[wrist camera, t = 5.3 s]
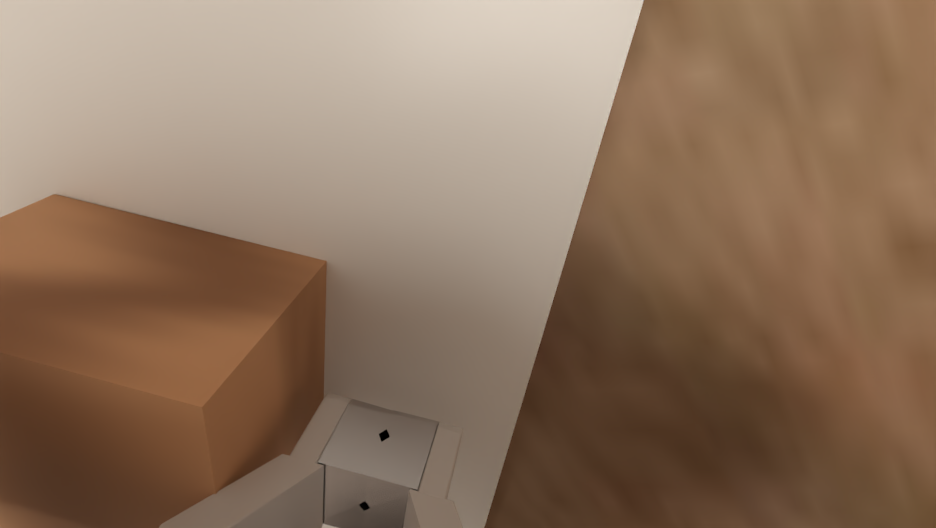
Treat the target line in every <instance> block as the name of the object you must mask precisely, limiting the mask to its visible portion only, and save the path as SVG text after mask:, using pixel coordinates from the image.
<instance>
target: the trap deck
mask: <svg viewBox="0 0 936 528" xmlns="http://www.w3.org/2000/svg"><path fill="white" fill-rule="evenodd" d="M643 1H644V0H0V217H2V216H5V215H7V214H9V213H12V212H14V211H16V210H19V209H21V208H23V207H26V206H28V205H30V204H32V203H35V202H37V201H39V200H42V199H44V198H46V197H49V196H51V195H53V194H56V195H60V196H64V197H68V198H72V199H76V200H80V201H85V202H89V203H93V204H97V205H101V206H105V207H109V208H113V209H117V210H121V211H125V212H129V213H133V214H137V215H141V216H146V217H150V218H154V219H158V220H162V221H166V222H170V223H174V224H178V225H182V226H186V227H190V228H194V229H198V230H203V231H207V232H211V233H215V234H219V235H223V236H227V237H231V238H235V239H239V240H243V241H247V242H251V243H255V244H260V245H264V246H268V247H272V248H276V249H280V250H284V251H288V252H292V253H296V254H300V255H304V256H308V257H312V258H317V259H321V260H325V261H327V271H326V317H325V362H324V397H325V396H326V395H328V394H329V393H333V394H337V395H340V396H344V397H347V398H351V399H355V400H358V401H362V402H365V403H369V404H372V405H375V406H379V407H382V408H386V409H389V410H392V411H393V410H395V411H399V412H403V413H407V414H411V415H415V416H419V417H423V418H427V419H431V420H435V421H439V423H440V422H441V423H445V424H449V425H453V426H456V427H460V428H463V434H462V438H461V443H460V447H459V451H458V455H457V460H456V464H455V468H454V472H453V477H452V481H451V485H450V489H449V493H448V498H447V499H448V500H451V501H454V504H455V506H456V509H457V512H458V515H459V517H460V520H461V523H462V526H463V528H484V527H485V524H486V520H487V517H488V514H489V511H490V507H491V504H492V501H493V497H494V494H495V491H496V487H497V484H498V481H499V477H500V474H501V471H502V468H503V464H504V461H505V458H506V454H507V451H508V448H509V444H510V441H511V438H512V434H513V431H514V428H515V425H516V421H517V418H518V415H519V411H520V408H521V405H522V401H523V398H524V395H525V391H526V388H527V385H528V382H529V378H530V375H531V372H532V368H533V365H534V362H535V358H536V355H537V352H538V348H539V345H540V342H541V339H542V335H543V332H544V329H545V325H546V322H547V319H548V315H549V312H550V309H551V306H552V302H553V299H554V296H555V292H556V289H557V286H558V282H559V279H560V276H561V272H562V269H563V266H564V263H565V259H566V256H567V253H568V249H569V246H570V243H571V239H572V236H573V233H574V229H575V226H576V223H577V220H578V216H579V213H580V210H581V206H582V203H583V200H584V196H585V193H586V190H587V186H588V183H589V180H590V177H591V173H592V170H593V167H594V163H595V160H596V157H597V153H598V150H599V147H600V143H601V140H602V137H603V134H604V130H605V127H606V124H607V120H608V117H609V114H610V110H611V107H612V104H613V100H614V97H615V94H616V91H617V87H618V84H619V81H620V77H621V74H622V71H623V67H624V64H625V61H626V57H627V54H628V51H629V48H630V44H631V41H632V38H633V34H634V31H635V28H636V24H637V21H638V18H639V14H640V11H641V8H642V5H643ZM322 528H338V527H334V526H330V525H326V524H323V525H322Z"/></svg>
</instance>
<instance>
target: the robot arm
mask: <svg viewBox="0 0 936 528" xmlns="http://www.w3.org/2000/svg"><path fill="white" fill-rule="evenodd" d="M462 434H463V428H460V427H456V426H453V425H449V424H445V423H441V422H440V423H439V421H435V420H431V419H427V418H423V417H419V416H415V415H411V414H407V413H403V412H399V411H395V410H393V411H392V410H389V409H386V408H382V407H379V406H375V405H372V404H369V403H365V402H362V401H358V400H355V399H351V398H347V397H344V396H340V395H337V394H333V393H329V394H328V395H326V396H325V397H324V398H323V400H322V402H321V403H320V405H319V407H318V408H317V410H316V412H315V414H314V415H313V417H312V419H311V420H310V422H309V424H308V425H307V427H306V429H305V430H304V432H303V434H302V435H301V437H300V439H299V440H298V442H297V444H296V445H295V447H294V449H293V450H292V452H291V454H290V455H285V454H281V455H280V456H278V457H276V458H274V459H273V460H271V461H269V462H267V463H266V464H264V465H262V466H261V467H259V468H257V469H255V470H254V471H252V472H250V473H248V474H247V475H245V476H243V477H242V478H240V479H238V480H236V481H235V482H233V483H231V484H230V485H228V486H226V487H224V488H223V489H221V490H219V491H218V492H217V494H212V495H211V496H209V497H207V498H205V499H204V500H202V501H200V502H198V503H197V504H195V505H193V506H192V507H190V508H188V509H186V510H185V511H183V512H181V513H180V514H178V515H176V516H174V517H173V518H171V519H169V520H167V521H166V522H164V523H162V524H161V525H160V527H159V528H322V525H323V524H326V525H330V526H334V527H338V528H463V526H462V523H461V520H460V517H459V515H458V512H457V509H456V506H455V504H454V501H451V500H448V499H447V498H448V493H449V489H450V485H451V481H452V477H453V472H454V468H455V464H456V460H457V455H458V451H459V447H460V443H461V438H462Z"/></svg>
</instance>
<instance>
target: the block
mask: <svg viewBox="0 0 936 528" xmlns="http://www.w3.org/2000/svg"><path fill="white" fill-rule="evenodd" d="M326 271H327V261H325V260H321V259H317V258H312V257H308V256H304V255H300V254H296V253H292V252H288V251H284V250H280V249H276V248H272V247H268V246H264V245H260V244H255V243H251V242H247V241H243V240H239V239H235V238H231V237H227V236H223V235H219V234H215V233H211V232H207V231H203V230H198V229H194V228H190V227H186V226H182V225H178V224H174V223H170V222H166V221H162V220H158V219H154V218H150V217H146V216H141V215H137V214H133V213H129V212H125V211H121V210H117V209H113V208H109V207H105V206H101V205H97V204H93V203H89V202H85V201H80V200H76V199H72V198H68V197H64V196H60V195H56V194H53V195H51V196H49V197H46V198H44V199H42V200H39V201H37V202H35V203H32V204H30V205H28V206H26V207H23V208H21V209H19V210H16V211H14V212H12V213H9V214H7V215H5V216H2V217H0V528H159V527H160V525H161V524H162V523H164V522H166V521H167V520H169V519H171V518H173V517H174V516H176V515H178V514H180V513H181V512H183V511H185V510H186V509H188V508H190V507H192V506H193V505H195V504H197V503H198V502H200V501H202V500H204V499H205V498H207V497H209V496H211V495H212V494H217V492H218V491H219V490H221V489H223V488H224V487H226V486H228V485H230V484H231V483H233V482H235V481H236V480H238V479H240V478H242V477H243V476H245V475H247V474H248V473H250V472H252V471H254V470H255V469H257V468H259V467H261V466H262V465H264V464H266V463H267V462H269V461H271V460H273V459H274V458H276V457H278V456H280V455H281V454H285V455H290V454H291V452H292V450H293V449H294V447H295V445H296V444H297V442H298V440H299V439H300V437H301V435H302V434H303V432H304V430H305V429H306V427H307V425H308V424H309V422H310V420H311V419H312V417H313V415H314V414H315V412H316V410H317V408H318V407H319V405H320V403H321V402H322V400H323V398H324V362H325V317H326Z"/></svg>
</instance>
